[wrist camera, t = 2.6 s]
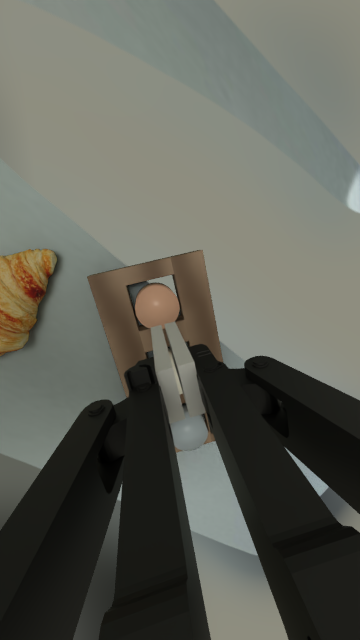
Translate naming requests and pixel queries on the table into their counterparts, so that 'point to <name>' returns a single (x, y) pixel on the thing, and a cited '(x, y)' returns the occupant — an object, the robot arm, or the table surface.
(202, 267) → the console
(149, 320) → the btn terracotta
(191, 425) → the slate button
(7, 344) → the croissant
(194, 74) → the table surface
